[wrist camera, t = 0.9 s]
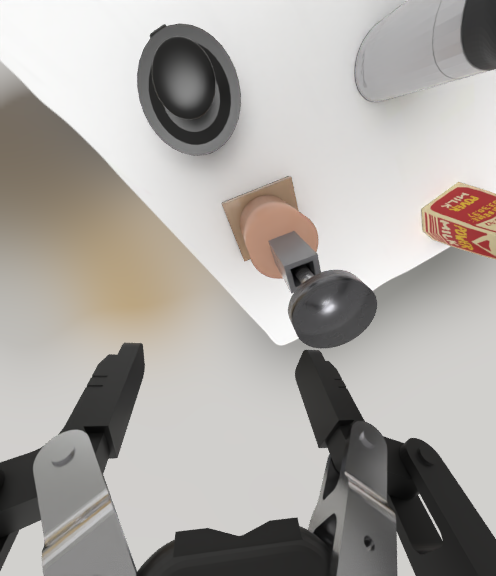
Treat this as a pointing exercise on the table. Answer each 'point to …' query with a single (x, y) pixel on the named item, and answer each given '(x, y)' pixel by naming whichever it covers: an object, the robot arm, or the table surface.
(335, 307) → the dark grey rounded piece
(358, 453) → the robot arm
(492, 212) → the milk carton
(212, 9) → the table surface
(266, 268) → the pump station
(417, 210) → the table surface
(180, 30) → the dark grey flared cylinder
